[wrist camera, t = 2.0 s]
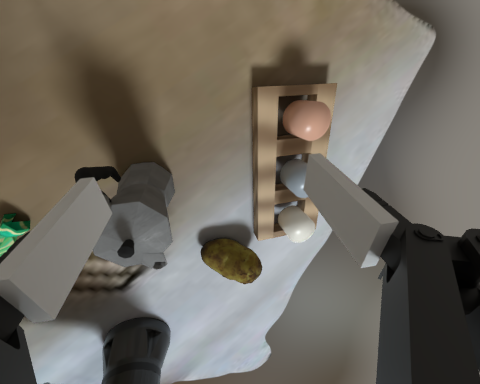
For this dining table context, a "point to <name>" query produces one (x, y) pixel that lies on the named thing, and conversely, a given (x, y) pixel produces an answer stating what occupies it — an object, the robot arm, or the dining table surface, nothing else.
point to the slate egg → (294, 176)
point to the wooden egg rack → (281, 153)
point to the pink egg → (307, 119)
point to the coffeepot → (135, 215)
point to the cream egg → (296, 224)
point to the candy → (11, 231)
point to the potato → (232, 260)
